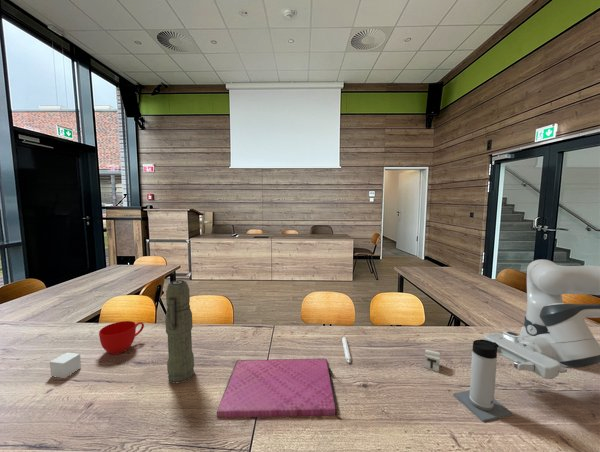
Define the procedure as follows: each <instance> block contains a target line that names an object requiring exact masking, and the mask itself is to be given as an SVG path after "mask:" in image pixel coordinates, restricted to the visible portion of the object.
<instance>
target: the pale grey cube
mask: <svg viewBox="0 0 600 452" xmlns="http://www.w3.org/2000/svg"><path fill="white" fill-rule="evenodd" d="M81 362H82V361H81V354H80V353H74V352H65V353H63V354H61V355H59V356H57V357H56V358H54V359H52V360H50V361H49V368H50V369H49V370H50V377H51V376H56V377H61V378H60V379H62V378H66V377H67V376H69V375H70V374H72V373H74V372H75V371H77V370H78V369H80V368H81V369H82V363H81ZM81 369H80V370H81ZM78 371H79V370H78ZM78 371H77V372H78ZM75 373H76V372H75ZM75 373H74V374H75ZM72 375H73V374H72ZM70 376H71V375H70ZM70 376H69V377H70ZM67 378H68V377H67ZM67 378H66V379H67Z"/></svg>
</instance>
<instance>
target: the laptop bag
mask: <svg viewBox="0 0 600 452" xmlns="http://www.w3.org/2000/svg"><path fill="white" fill-rule="evenodd" d="M331 377H335V379H336V380H337V381H338V382H340V380H339V379H338V378H337V377H336V375H335V374H334V372H333V371H332V370H331V368H330V366H329V363H328V359H327V358H289V359H288V358H287V359H285V358H283V359H276V358H275V359H243V360H241V359H239V360H236V361H235V365H234V367H233V370H232V372H231V375H230V376H229V379H228V382H227V384H226V386H225V390H224V392H223V394H222V397H221V400H220V401H219V402H220V403H219V405H218V408H217V410H216V417H217V418H267V417H268V418H269V417H270V418H272V417H273V418H274V417H275V418H276V417H278V418H280V417H281V418H282V417H283V418H285V417H326V416H327V417H329V416H330V417H331V416H332V417H333V416H338V408H337V407H338V406H337V401H336V396H335V391H334V387H333V382H332V378H331ZM343 388H344V389H345V392H346V394H348V393H347V389H346V387H345V386H343ZM345 401H346V402H347V401H348V399H345Z"/></svg>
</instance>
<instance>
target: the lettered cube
mask: <svg viewBox="0 0 600 452" xmlns="http://www.w3.org/2000/svg"><path fill="white" fill-rule="evenodd" d="M440 354H441V353H440V352H439V351H435V350H431V349H425V351H424V365H423V366H424V367H423V368H424V369H428V370H431V371H435V372H439V373H440V359H441V358H440V356H441V355H440Z"/></svg>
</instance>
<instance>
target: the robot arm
mask: <svg viewBox="0 0 600 452" xmlns="http://www.w3.org/2000/svg"><path fill="white" fill-rule="evenodd" d="M563 295H595V296H600V265H593V264H591V265H589V264H586V265H558V264H557V263H555V262H553V261H552V260H549V259H535V260H533V261H531V262H530V263H528V265H527V268H526V298H527V301H526V310H525V311H526V312H525V317H524V319H523V326H522V327H521V330H520V334H519V333H515V332H511V331H508V330H504V331H502V333H500V332H493V333H489V334H485V335H484V336H483V340H488V341H491V342H496V343H497V344H498V345H499V347H497V355H498V354H499V355H500V356H502V357H504V358H505V359H508V360H510V361H511V362H512V363H513V368H515V369H516V370H518V371H527V372H532V373H534V374H536V375H538V376H540V377H541V378H543V379H547V380H552V379H554V378H556V377H558V376H559V375H560V374H563V373H567V372H568V369H567V368H584V367H585V368H586V367H589V366H594V365H599V364H600V344H599V341H597V339H596V337H595V336H594V335H593V332H592V331H591V330H590V328H589V326H588V324H587V322H586V321H585V318H591V319H592V318H595V319H596V318H597V319H598V318H600V303H598V304H597V303H595V304H594V303H593V304H592V303H591V304H590V303H585V304H584V303H582V304H581V303H580V304H579V303H578V304H576V303H564V302H563Z"/></svg>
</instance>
